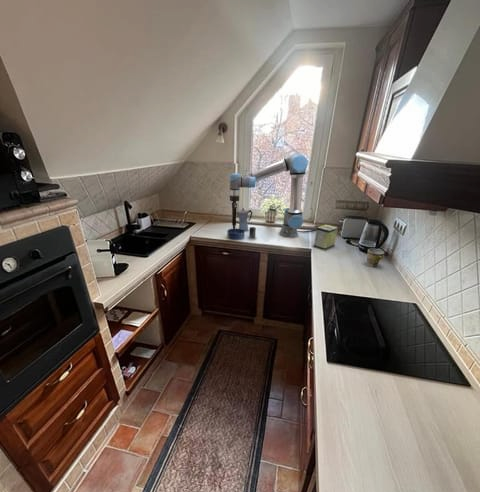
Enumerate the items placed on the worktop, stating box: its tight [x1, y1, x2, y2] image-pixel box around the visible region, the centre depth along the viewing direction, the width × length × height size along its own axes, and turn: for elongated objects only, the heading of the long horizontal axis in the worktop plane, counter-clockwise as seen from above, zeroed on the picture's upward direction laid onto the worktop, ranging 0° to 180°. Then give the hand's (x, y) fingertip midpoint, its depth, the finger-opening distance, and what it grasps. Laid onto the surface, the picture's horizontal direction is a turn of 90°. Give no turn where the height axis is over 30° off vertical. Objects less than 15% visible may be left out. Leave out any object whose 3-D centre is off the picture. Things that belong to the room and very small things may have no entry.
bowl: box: [226, 228, 246, 241], centre depth 214 cm, size 14×14×6 cm
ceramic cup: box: [365, 248, 385, 268], centre depth 172 cm, size 13×10×10 cm
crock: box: [248, 226, 257, 239], centre depth 214 cm, size 5×5×9 cm
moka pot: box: [237, 208, 253, 232], centre depth 229 cm, size 10×15×20 cm, turn 115°
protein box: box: [313, 223, 339, 251], centre depth 201 cm, size 10×16×16 cm
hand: (234, 225), depth 209 cm, fingers closed on cooking stick, 2 cm apart
